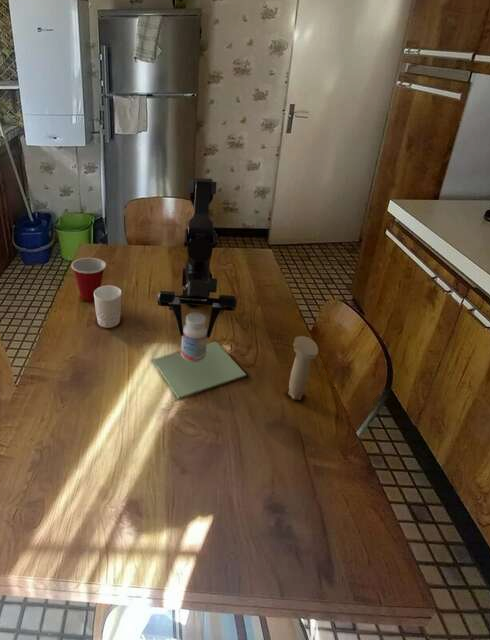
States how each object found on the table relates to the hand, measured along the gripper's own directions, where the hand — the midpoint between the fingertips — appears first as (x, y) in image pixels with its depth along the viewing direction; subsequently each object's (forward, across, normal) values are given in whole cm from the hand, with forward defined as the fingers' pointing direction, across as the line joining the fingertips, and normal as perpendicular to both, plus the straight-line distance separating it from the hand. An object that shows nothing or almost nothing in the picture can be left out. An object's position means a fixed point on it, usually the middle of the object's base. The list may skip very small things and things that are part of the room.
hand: (194, 337), depth 103 cm
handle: (+11, +24, +6) cm, 28 cm away
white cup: (-5, -25, +23) cm, 34 cm away
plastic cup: (-14, -33, +32) cm, 48 cm away
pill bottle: (+4, 0, +6) cm, 7 cm away
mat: (+7, +2, +11) cm, 13 cm away
